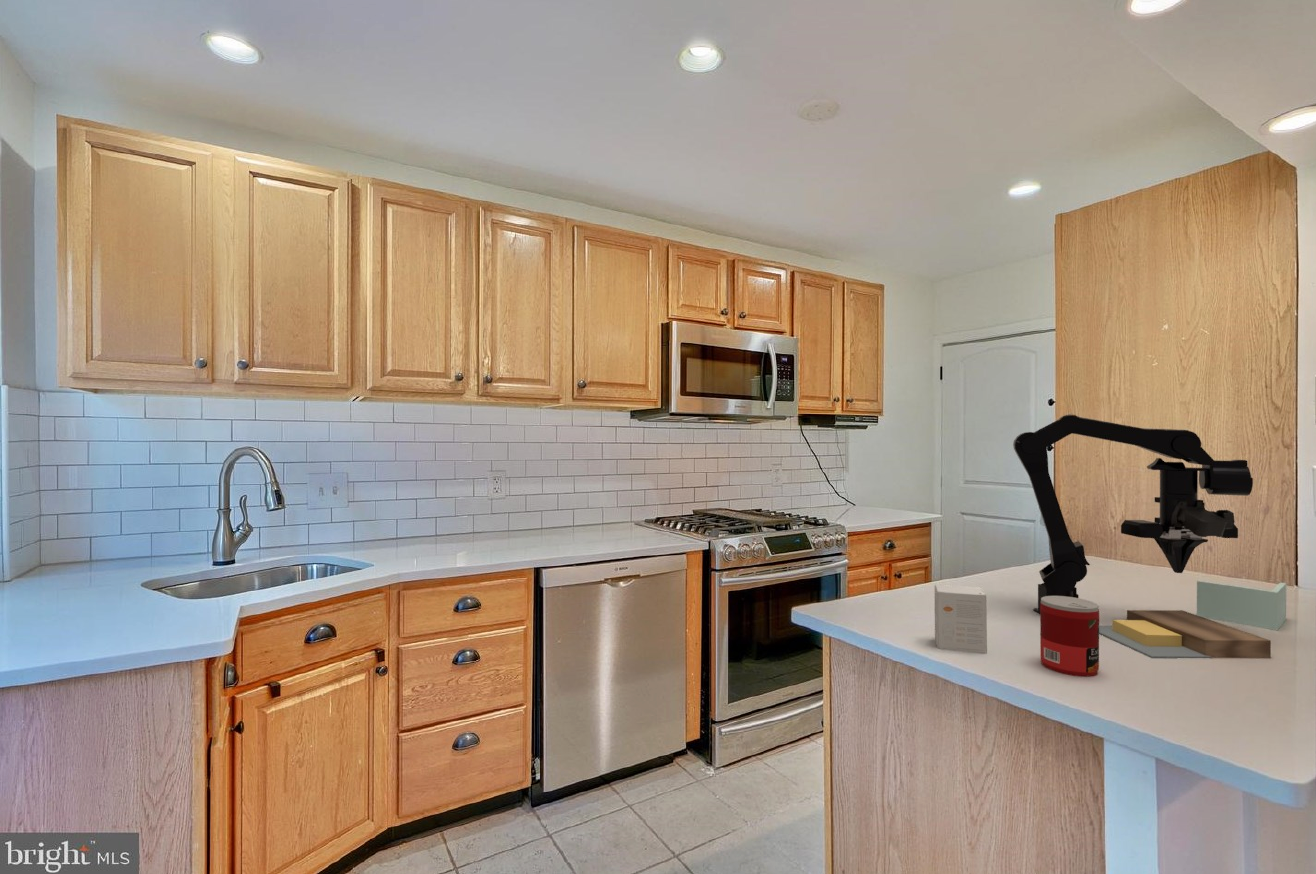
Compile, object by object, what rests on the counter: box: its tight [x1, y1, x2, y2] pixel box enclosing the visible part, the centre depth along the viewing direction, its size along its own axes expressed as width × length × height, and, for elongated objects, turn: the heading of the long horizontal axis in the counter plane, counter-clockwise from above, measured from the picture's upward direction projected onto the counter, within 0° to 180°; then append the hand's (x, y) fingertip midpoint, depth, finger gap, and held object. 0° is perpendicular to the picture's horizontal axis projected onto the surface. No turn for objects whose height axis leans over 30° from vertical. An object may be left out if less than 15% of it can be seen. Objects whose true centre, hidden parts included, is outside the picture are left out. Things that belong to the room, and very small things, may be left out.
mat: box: [1099, 625, 1212, 659], centre depth 114 cm, size 10×17×1 cm, turn 179°
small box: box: [934, 584, 988, 654], centre depth 111 cm, size 8×6×10 cm
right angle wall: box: [1196, 580, 1287, 632], centre depth 129 cm, size 12×12×8 cm
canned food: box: [1039, 596, 1100, 677], centre depth 101 cm, size 8×8×11 cm
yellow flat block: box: [1111, 619, 1182, 647], centre depth 115 cm, size 6×9×2 cm, turn 177°
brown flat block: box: [1126, 609, 1272, 659], centre depth 115 cm, size 11×18×3 cm, turn 179°
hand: (1178, 572), depth 121 cm, fingers closed
